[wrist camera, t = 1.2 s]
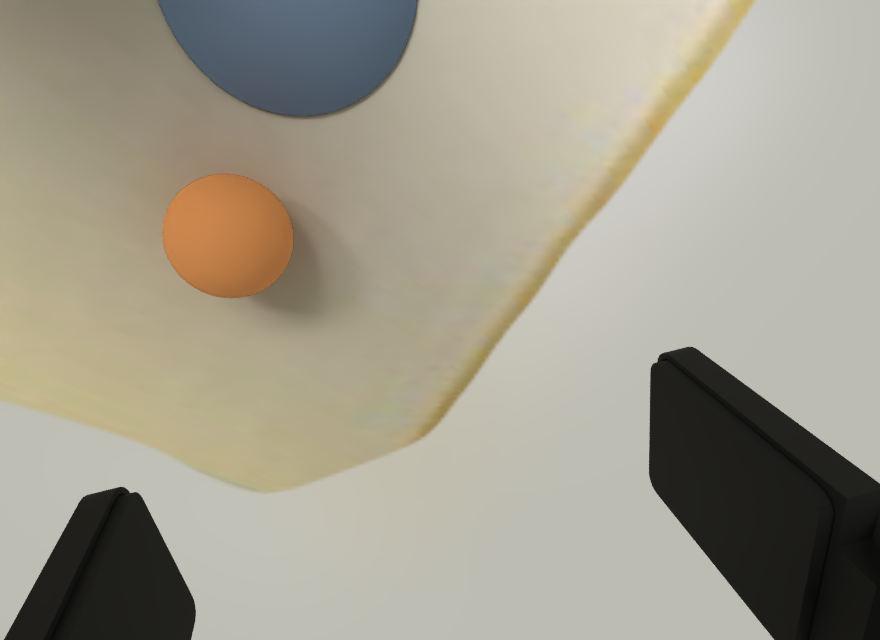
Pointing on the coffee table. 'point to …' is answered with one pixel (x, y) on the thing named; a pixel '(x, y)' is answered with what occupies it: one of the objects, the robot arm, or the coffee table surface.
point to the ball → (227, 235)
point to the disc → (293, 48)
